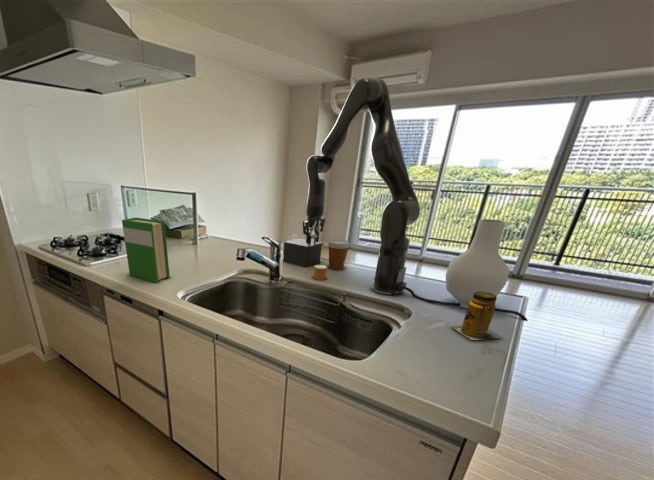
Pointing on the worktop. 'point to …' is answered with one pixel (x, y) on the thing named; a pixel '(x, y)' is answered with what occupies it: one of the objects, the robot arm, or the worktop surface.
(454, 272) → the vase
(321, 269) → the coffee pod
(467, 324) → the condiment
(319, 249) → the dark grey lidded box
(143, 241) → the hardback book
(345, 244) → the disposable coffee cup
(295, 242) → the lid
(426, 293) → the worktop surface
